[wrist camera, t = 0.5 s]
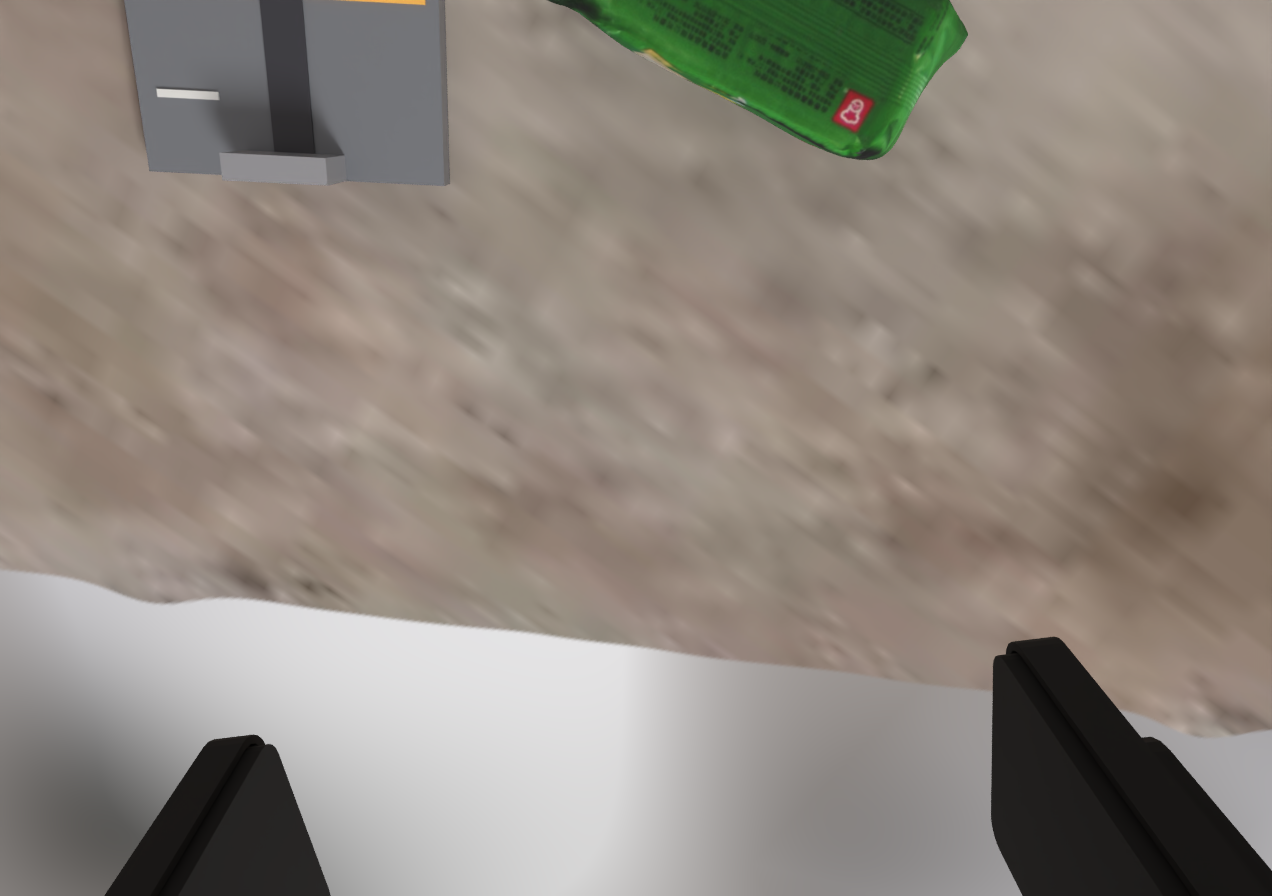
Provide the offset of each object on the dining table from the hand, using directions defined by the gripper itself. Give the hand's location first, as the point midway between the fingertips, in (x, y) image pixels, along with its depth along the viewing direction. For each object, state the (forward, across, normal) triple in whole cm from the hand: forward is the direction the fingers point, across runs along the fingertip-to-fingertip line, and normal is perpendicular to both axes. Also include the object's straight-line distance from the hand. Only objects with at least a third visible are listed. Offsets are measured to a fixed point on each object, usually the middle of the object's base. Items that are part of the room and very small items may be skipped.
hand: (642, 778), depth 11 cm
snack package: (+30, -6, -11) cm, 32 cm away
